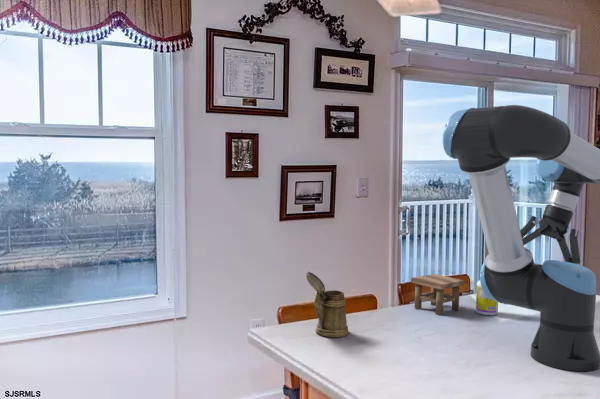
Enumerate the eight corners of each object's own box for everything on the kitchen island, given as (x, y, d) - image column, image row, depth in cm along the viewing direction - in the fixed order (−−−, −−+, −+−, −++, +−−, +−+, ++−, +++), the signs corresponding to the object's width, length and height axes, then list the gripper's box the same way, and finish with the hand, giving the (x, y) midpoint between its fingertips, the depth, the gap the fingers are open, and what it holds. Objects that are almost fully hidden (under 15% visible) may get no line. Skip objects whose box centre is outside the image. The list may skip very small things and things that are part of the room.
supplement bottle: (480, 309, 173) (481, 270, 173) (500, 313, 169) (502, 273, 168) (472, 313, 168) (474, 273, 167) (493, 317, 164) (495, 276, 163)
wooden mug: (296, 334, 143) (297, 268, 142) (333, 325, 151) (335, 264, 150) (317, 343, 136) (318, 274, 135) (355, 334, 144) (357, 269, 143)
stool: (440, 316, 163) (441, 284, 163) (410, 307, 173) (411, 277, 172) (463, 310, 171) (464, 280, 170) (433, 302, 180) (434, 273, 180)
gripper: (609, 221, 147) (582, 292, 150) (528, 197, 166) (505, 260, 169) (598, 218, 142) (571, 290, 145) (515, 194, 162) (493, 258, 164)
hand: (535, 274), depth 157 cm, fingers open, 13 cm apart
